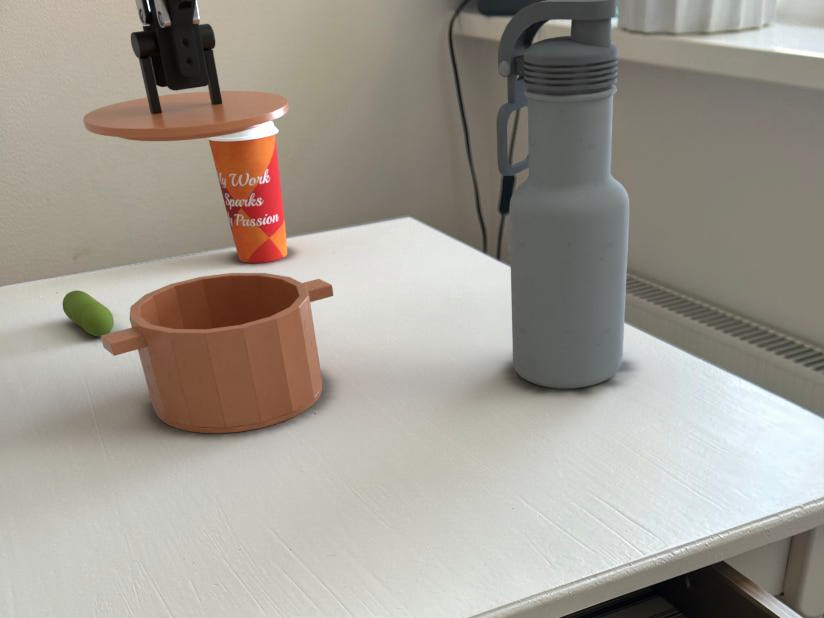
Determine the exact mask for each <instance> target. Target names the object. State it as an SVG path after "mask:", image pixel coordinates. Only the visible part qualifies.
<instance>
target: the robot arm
mask: <svg viewBox="0 0 824 618" xmlns="http://www.w3.org/2000/svg"><path fill="white" fill-rule="evenodd" d="M135 4H136V10H137V14H138V18H139V21H140V23H141V25H142V31H148V30H155V31H156V36H157V41H158V46H159V50H160V55H161V56H154V57H150V58H151V63H152V67H153V72H154V77H155V81H156V86H157V87H160V88H167V89H169V90H171V91H182V90H190V89H196V88H202V87H203V88H204V87H208V84H209V77H208V72H207V66H206V61H205V56H204V50H203V45H202V39H201V34H200V28H199V25H200V20H201V19H200V12H199V7H198V6H199V5H198V1H197V0H135Z"/></svg>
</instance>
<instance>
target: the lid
mask: <svg viewBox="0 0 824 618" xmlns="http://www.w3.org/2000/svg"><path fill="white" fill-rule="evenodd" d="M199 28H200V34H201V39H202V45H203V50H204V56H205V61H206V66H207V72H208V77H209V84H208V85H207V88H208V91H193V92H183V93H172V94H171V93H170V94H162V95H159V91H158V86H157V85H156V81H155V77H154V72H153V67H152V63H151V58H150V57H154V56H161V55H160V50H159V46H158V41H157V36H156V31H155V30H148V31H143V30H141V31H140V30H139V31H133V32H131V33H130V44H131V48H132V51H133V53H134V56H135V57H136V58H138V60H139V61H138V62H139V66H140V71H141V76H142V80H143V85H144V89H145V93H146V97H142V98H135V99H130V100H126V101H120V102H117V103H113V104H108V105H105V106H102V107H99V108H96V109H93V110H91V111H89V112H88V113H86V114H85V115H84V116H83V119H82V121H83V125H84V129H86V131H88V132H90V133H92V134H96V135H100V136H105V137H114V138H120V139H123V140H127V141H137V142H175V141H177V142H181V141H192V140H200V139H201V140H202V139H206V138H210V137H217V136H223V135H228V134H233V133H238V132H242V131H246V130H249V129H252V128H255V127H257V126H259V125H261V124H263V123H266V122H269V121H272V122H273V121H274V120H277V119H279V118H282V117H283V116H285V115H286V114H288V112H290V105H289V100H288V98H287V97H284V96H283V95H280V94H277V93H271V92H265V91H254V90H253V91H251V90H221V87H220V82H219V81H220V80H219V75H218V70H217V65H216V59H215V53H214V49H215V48H216V35H215V32H214V29H213V27H212V25H211V24H210V23H201V24H199Z"/></svg>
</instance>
